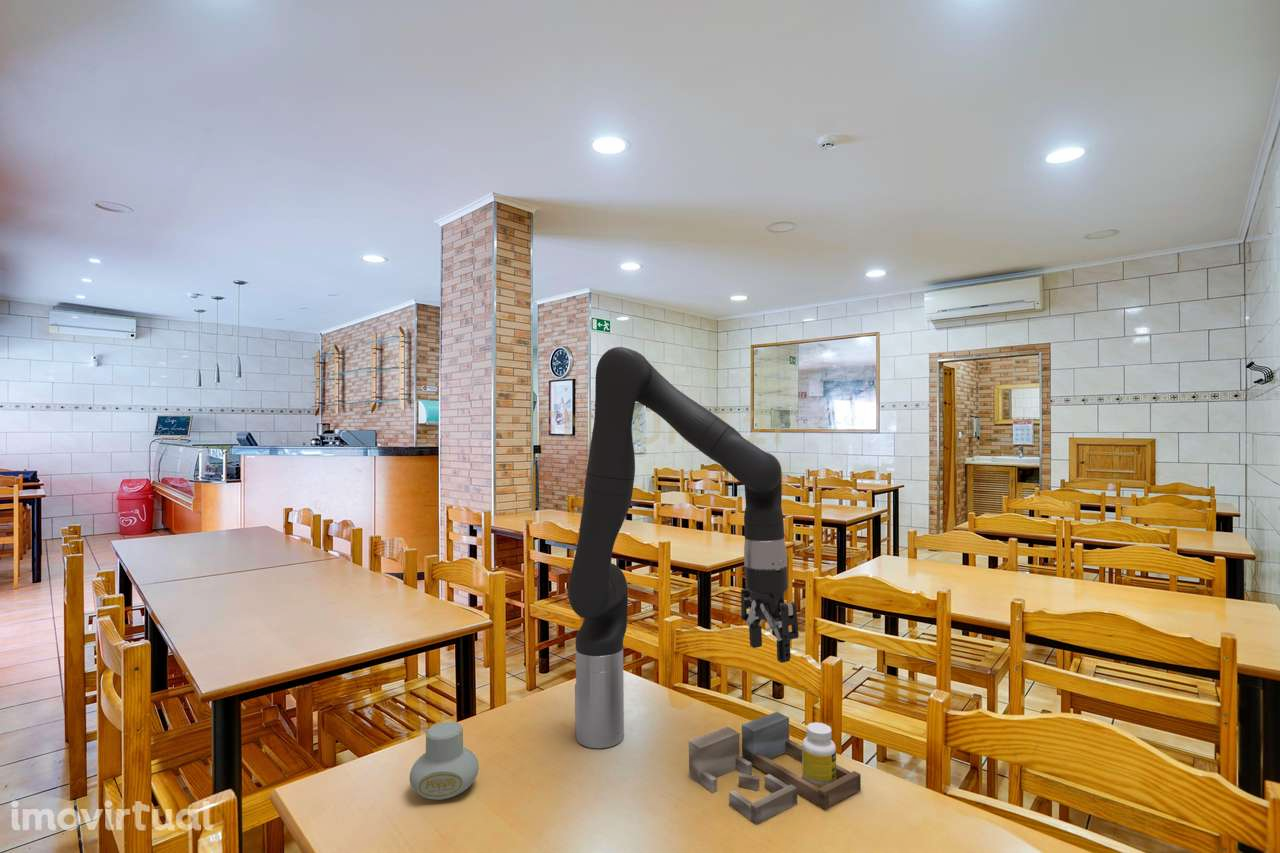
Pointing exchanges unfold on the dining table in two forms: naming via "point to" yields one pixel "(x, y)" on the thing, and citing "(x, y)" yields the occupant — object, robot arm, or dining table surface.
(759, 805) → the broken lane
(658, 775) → the dining table surface
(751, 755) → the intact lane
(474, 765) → the air freshener
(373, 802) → the dining table surface
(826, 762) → the supplement bottle
